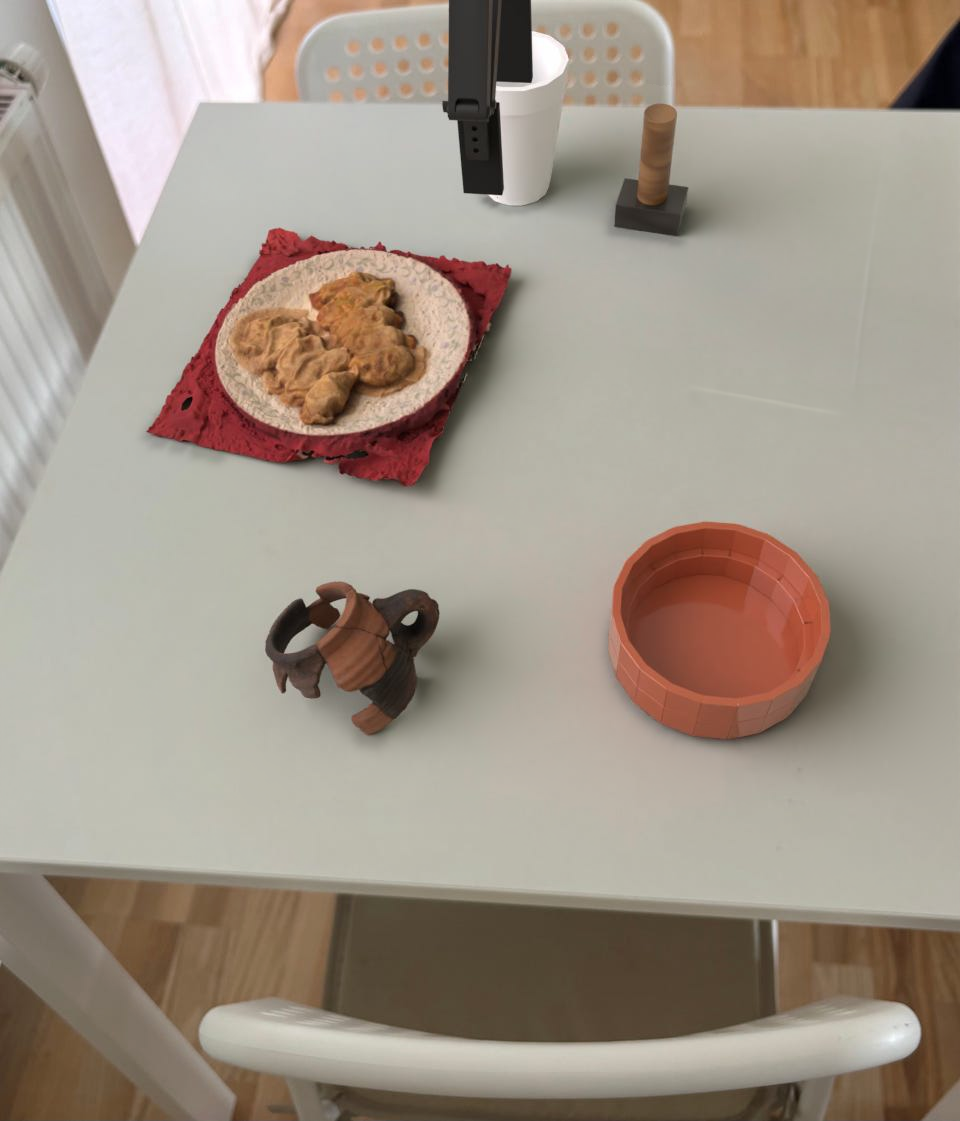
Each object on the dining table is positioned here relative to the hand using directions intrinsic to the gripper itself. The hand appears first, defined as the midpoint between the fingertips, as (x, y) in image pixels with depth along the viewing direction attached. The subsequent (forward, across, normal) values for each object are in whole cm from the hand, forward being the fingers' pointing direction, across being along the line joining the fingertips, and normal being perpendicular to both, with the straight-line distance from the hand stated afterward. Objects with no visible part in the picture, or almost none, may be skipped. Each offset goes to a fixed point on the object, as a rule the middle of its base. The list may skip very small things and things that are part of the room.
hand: (499, 133), depth 80 cm
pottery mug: (+20, +34, -5) cm, 40 cm away
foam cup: (+19, -20, -3) cm, 28 cm away
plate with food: (+20, +4, -14) cm, 25 cm away
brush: (+19, -17, +11) cm, 28 cm away
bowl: (+20, +29, +19) cm, 40 cm away
